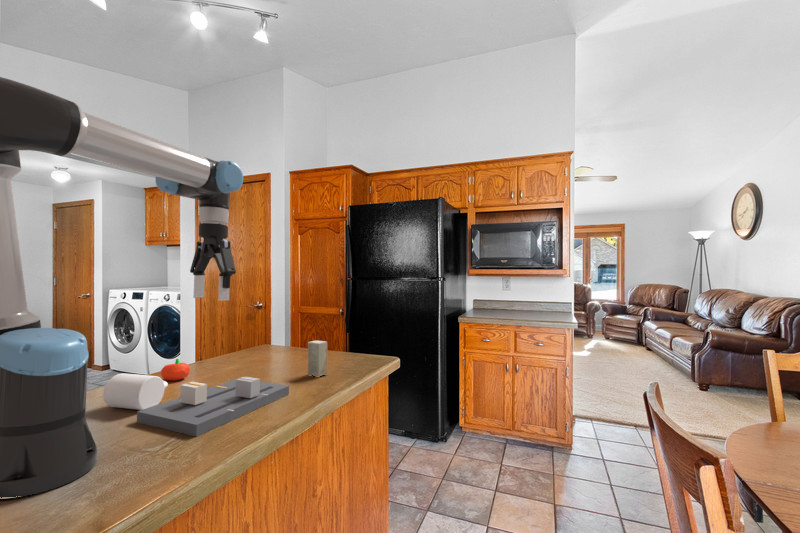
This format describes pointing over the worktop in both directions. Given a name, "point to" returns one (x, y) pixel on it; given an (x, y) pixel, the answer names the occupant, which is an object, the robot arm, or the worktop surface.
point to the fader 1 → (193, 393)
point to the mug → (134, 391)
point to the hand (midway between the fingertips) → (210, 299)
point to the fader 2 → (247, 387)
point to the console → (209, 408)
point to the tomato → (175, 371)
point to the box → (317, 358)
